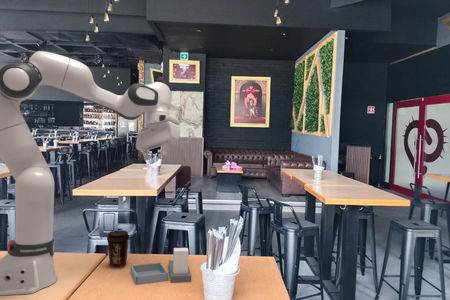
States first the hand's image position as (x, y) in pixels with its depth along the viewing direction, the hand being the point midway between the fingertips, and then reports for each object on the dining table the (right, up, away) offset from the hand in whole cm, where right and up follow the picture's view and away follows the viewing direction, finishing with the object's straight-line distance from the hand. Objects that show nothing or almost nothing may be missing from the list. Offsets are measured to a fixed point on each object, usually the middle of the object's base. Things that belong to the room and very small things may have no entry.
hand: (155, 157), depth 130 cm
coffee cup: (-16, -42, +5) cm, 45 cm away
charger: (+10, -43, -5) cm, 44 cm away
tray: (-1, -43, -5) cm, 43 cm away
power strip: (+9, -43, -1) cm, 44 cm away
